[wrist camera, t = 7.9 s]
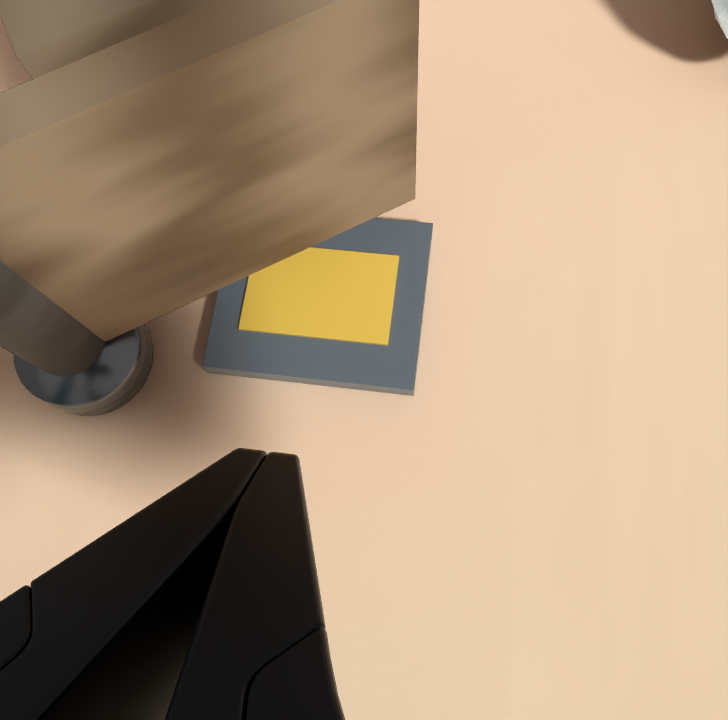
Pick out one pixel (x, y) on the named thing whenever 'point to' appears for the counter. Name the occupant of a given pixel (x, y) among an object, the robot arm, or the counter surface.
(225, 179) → the brown wooden block
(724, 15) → the artificial flower
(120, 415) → the counter surface
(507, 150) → the counter surface
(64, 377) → the pivot foot
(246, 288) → the label plaque
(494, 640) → the counter surface
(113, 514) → the counter surface
